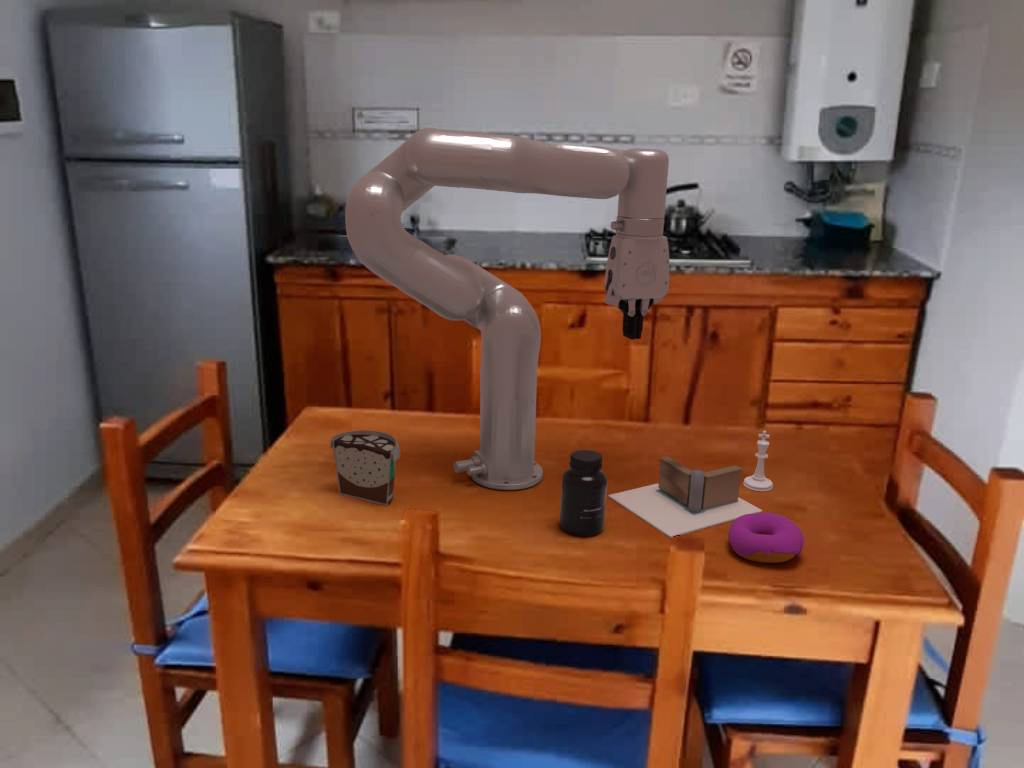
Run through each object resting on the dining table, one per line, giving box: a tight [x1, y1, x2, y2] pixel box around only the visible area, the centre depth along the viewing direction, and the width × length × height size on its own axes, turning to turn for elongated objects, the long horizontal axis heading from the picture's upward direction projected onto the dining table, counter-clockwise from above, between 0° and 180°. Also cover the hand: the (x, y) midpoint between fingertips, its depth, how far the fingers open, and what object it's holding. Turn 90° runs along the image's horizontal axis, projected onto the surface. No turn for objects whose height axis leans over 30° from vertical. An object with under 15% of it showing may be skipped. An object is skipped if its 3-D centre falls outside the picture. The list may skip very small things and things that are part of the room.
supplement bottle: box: [559, 449, 608, 538], centre depth 128 cm, size 7×7×12 cm
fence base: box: [607, 464, 764, 539], centre depth 137 cm, size 19×16×7 cm
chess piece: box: [742, 430, 774, 492], centre depth 144 cm, size 5×5×10 cm
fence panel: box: [658, 456, 693, 505], centre depth 139 cm, size 8×2×5 cm, turn 27°
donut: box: [727, 512, 805, 564], centre depth 123 cm, size 11×10×5 cm
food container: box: [329, 429, 401, 506], centre depth 138 cm, size 12×6×10 cm, turn 65°
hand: (631, 337), depth 142 cm, fingers closed
